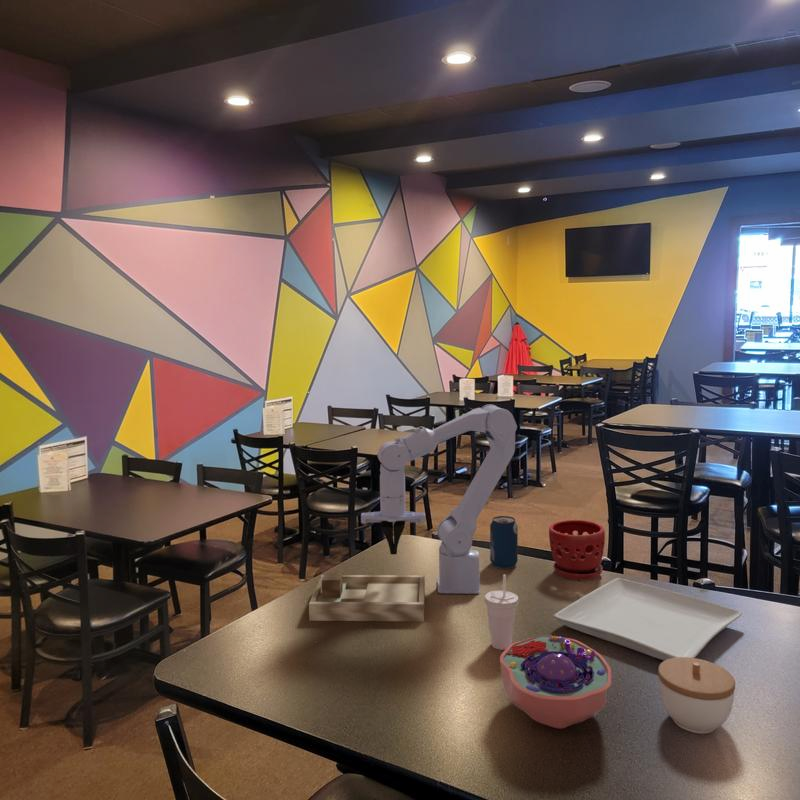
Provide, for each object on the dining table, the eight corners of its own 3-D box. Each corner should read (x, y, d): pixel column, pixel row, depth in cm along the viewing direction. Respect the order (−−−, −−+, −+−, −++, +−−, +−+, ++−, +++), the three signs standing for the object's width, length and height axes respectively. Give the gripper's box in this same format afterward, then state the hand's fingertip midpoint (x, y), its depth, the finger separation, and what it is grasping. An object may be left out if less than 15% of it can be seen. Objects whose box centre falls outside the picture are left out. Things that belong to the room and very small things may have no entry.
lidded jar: (728, 708, 105) (730, 652, 104) (738, 749, 95) (741, 687, 94) (655, 697, 108) (657, 642, 107) (658, 735, 98) (660, 676, 97)
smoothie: (517, 654, 123) (518, 582, 122) (483, 651, 124) (483, 580, 123) (518, 638, 129) (519, 569, 128) (485, 636, 131) (485, 567, 129)
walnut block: (342, 590, 148) (342, 573, 148) (340, 597, 144) (339, 580, 144) (324, 590, 148) (324, 573, 148) (322, 597, 144) (321, 580, 144)
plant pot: (573, 560, 171) (574, 515, 170) (615, 576, 161) (616, 528, 159) (537, 571, 164) (537, 524, 163) (578, 588, 153) (579, 538, 152)
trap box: (424, 590, 153) (424, 575, 153) (423, 621, 138) (423, 604, 137) (322, 590, 155) (321, 575, 154) (309, 620, 139) (308, 603, 138)
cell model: (604, 684, 112) (606, 621, 111) (615, 759, 93) (617, 683, 92) (504, 674, 116) (504, 612, 115) (494, 744, 97) (494, 671, 96)
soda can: (522, 564, 169) (523, 518, 168) (507, 571, 164) (507, 524, 163) (500, 558, 174) (500, 513, 173) (484, 565, 169) (484, 519, 168)
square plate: (616, 591, 152) (616, 575, 152) (743, 628, 133) (744, 610, 133) (551, 630, 134) (551, 611, 133) (687, 680, 114) (688, 658, 114)
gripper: (358, 499, 147) (360, 558, 148) (424, 499, 146) (425, 559, 147) (362, 491, 154) (363, 548, 155) (424, 491, 153) (425, 548, 154)
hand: (393, 552), depth 152 cm, fingers closed
